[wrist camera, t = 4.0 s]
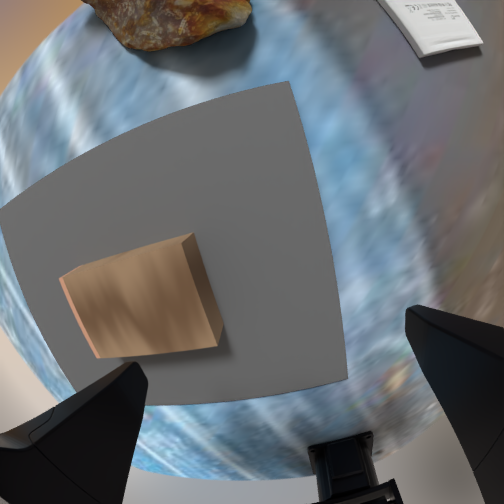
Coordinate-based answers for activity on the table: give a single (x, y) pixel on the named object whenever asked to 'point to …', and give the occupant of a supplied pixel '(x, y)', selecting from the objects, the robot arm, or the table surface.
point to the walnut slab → (145, 300)
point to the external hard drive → (432, 25)
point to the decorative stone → (169, 20)
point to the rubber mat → (208, 240)
